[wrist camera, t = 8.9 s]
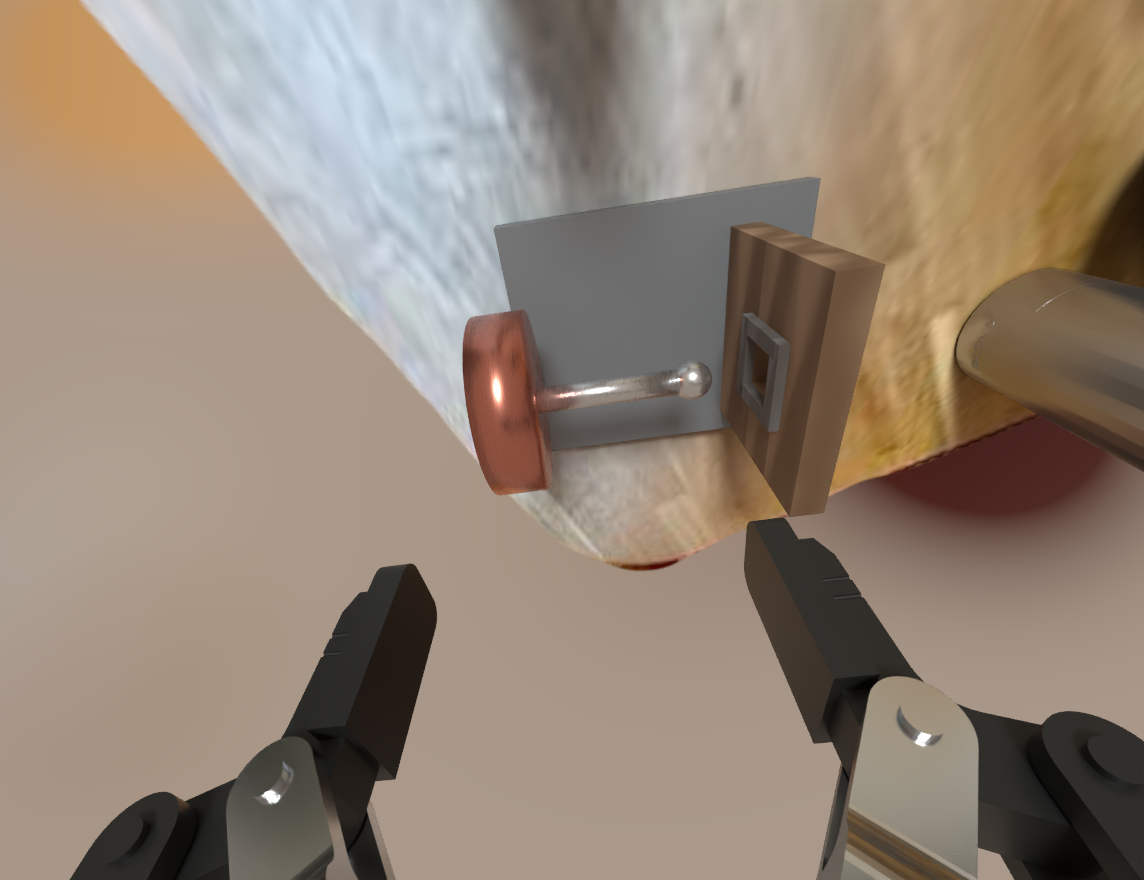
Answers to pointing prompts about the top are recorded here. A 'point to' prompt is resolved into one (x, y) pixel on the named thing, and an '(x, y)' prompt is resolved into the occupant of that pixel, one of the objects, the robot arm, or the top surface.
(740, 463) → the top surface
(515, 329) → the copper disc with rod
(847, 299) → the brown wooden panel
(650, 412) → the base board
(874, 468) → the top surface
